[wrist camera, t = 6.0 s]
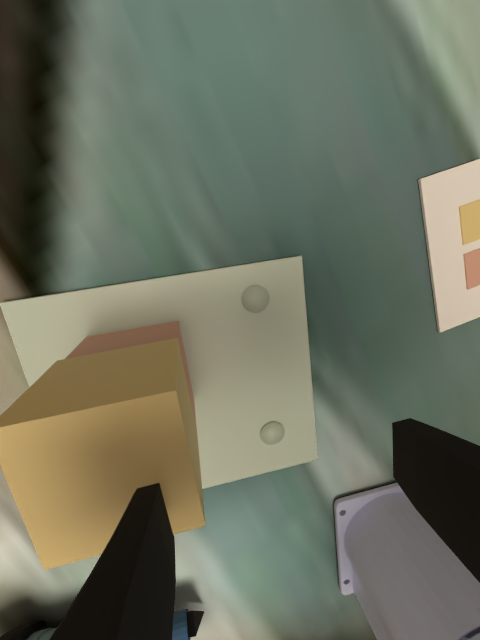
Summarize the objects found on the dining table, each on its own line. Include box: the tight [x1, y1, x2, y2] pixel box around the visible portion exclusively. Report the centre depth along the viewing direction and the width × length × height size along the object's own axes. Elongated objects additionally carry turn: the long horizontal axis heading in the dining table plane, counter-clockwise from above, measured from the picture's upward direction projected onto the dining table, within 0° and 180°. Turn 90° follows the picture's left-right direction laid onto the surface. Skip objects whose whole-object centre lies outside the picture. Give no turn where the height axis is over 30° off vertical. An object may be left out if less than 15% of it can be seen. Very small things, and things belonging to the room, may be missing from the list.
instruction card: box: [418, 159, 480, 332], centre depth 20 cm, size 10×7×1 cm
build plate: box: [0, 256, 318, 489], centre depth 19 cm, size 14×16×1 cm
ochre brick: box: [0, 338, 205, 570], centre depth 12 cm, size 5×5×5 cm
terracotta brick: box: [65, 321, 197, 430], centre depth 16 cm, size 5×5×4 cm
